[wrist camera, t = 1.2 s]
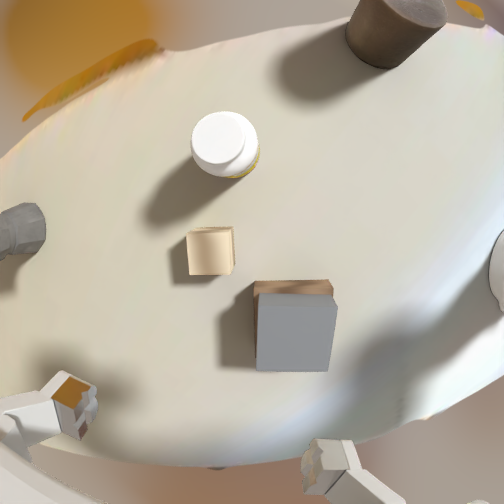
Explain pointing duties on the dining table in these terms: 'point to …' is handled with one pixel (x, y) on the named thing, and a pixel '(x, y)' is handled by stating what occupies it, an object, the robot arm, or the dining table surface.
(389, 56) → the pillar candle
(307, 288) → the tower base
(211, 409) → the dining table surface
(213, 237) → the birch block
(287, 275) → the dining table surface
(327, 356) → the tower top
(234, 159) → the supplement bottle
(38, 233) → the coffeepot
